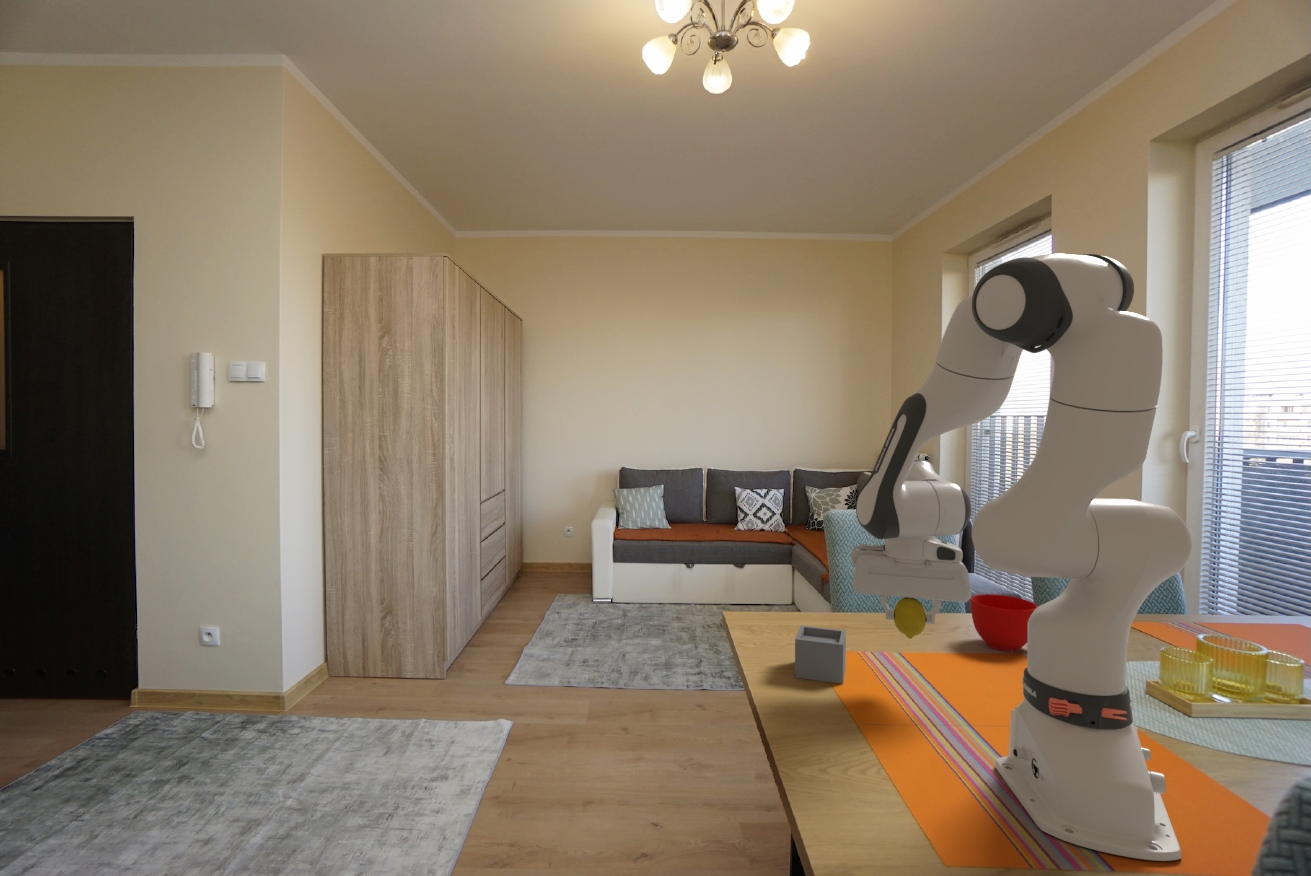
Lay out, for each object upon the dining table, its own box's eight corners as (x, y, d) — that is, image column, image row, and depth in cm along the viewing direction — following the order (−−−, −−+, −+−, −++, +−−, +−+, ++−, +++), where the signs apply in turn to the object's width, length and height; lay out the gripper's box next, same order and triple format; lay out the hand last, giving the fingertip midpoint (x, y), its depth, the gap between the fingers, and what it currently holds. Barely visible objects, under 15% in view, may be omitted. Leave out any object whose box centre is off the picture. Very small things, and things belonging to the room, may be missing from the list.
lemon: (930, 638, 112) (930, 595, 112) (919, 645, 108) (919, 600, 108) (900, 632, 116) (900, 590, 116) (889, 638, 112) (889, 595, 112)
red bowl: (1066, 662, 125) (1066, 614, 125) (976, 652, 131) (976, 607, 131) (1047, 642, 138) (1048, 598, 138) (966, 634, 143) (966, 592, 143)
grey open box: (843, 684, 114) (843, 644, 114) (794, 677, 117) (795, 639, 117) (845, 666, 123) (845, 630, 123) (800, 661, 126) (800, 625, 126)
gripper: (850, 545, 113) (850, 619, 113) (972, 553, 106) (972, 631, 105) (852, 541, 119) (852, 611, 119) (967, 547, 112) (967, 622, 111)
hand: (909, 621), depth 112 cm, fingers closed on lemon, 5 cm apart
